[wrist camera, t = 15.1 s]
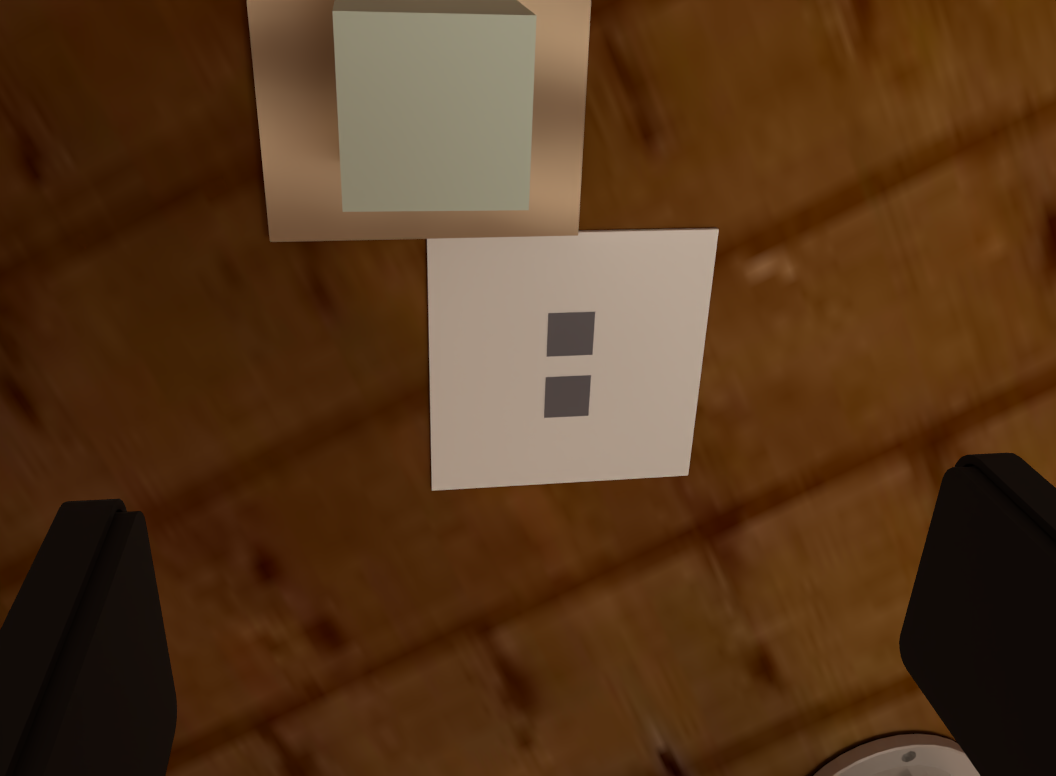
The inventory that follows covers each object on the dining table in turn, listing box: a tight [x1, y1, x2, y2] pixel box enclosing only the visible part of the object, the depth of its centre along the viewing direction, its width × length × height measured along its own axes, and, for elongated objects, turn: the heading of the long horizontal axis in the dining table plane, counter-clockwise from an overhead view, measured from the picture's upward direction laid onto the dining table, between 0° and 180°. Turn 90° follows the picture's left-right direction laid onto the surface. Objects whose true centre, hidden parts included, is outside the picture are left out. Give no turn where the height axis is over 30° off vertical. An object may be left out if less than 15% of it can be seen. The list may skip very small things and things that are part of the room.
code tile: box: [427, 228, 719, 491], centre depth 42 cm, size 12×12×1 cm
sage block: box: [332, 0, 537, 212], centre depth 33 cm, size 6×6×6 cm
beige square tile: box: [247, 0, 591, 242], centre depth 36 cm, size 12×12×1 cm
